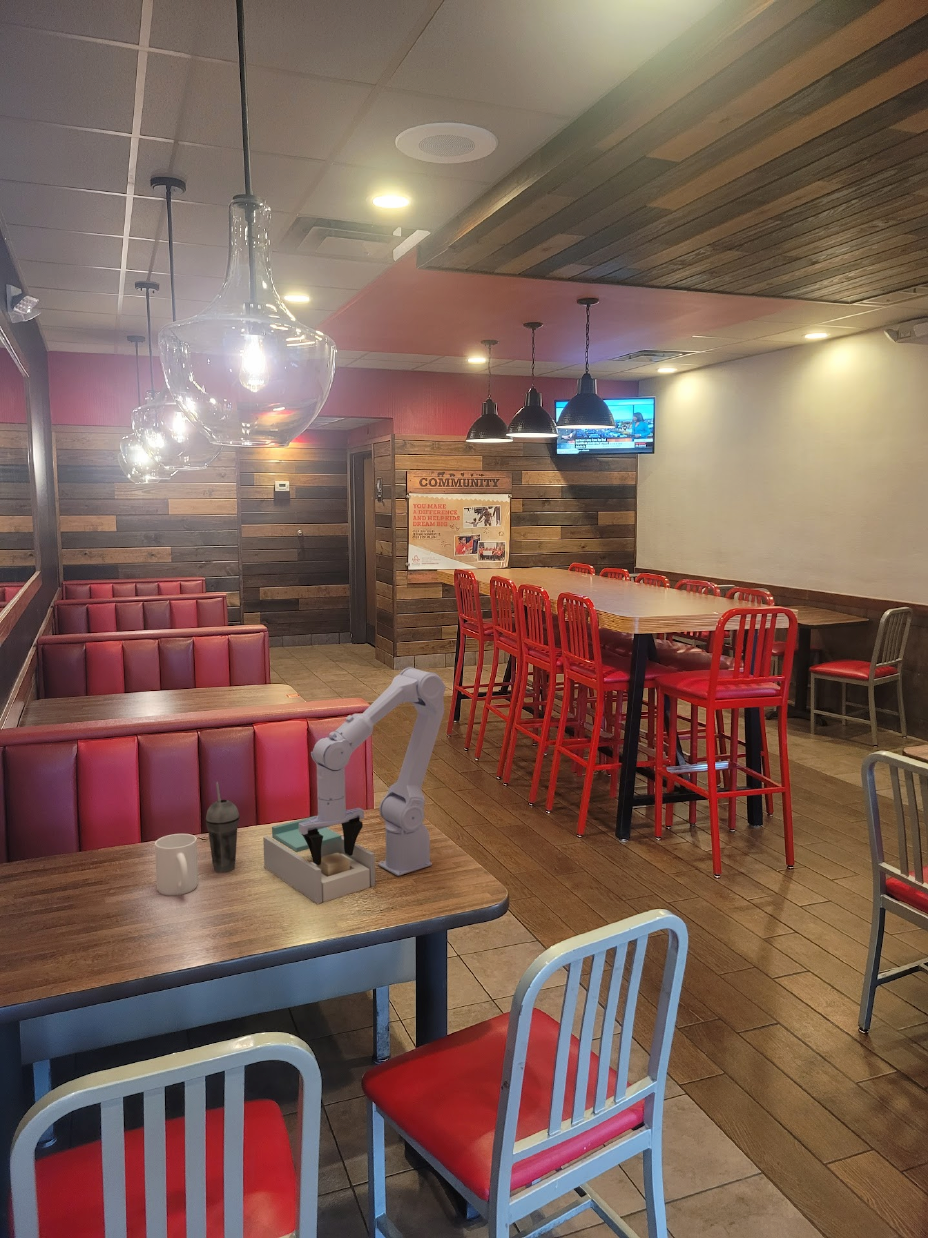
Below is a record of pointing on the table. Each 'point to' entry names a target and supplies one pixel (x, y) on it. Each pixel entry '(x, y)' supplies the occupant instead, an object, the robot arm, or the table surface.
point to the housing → (309, 875)
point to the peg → (334, 864)
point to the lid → (300, 835)
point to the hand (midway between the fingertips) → (333, 859)
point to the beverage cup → (222, 833)
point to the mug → (176, 864)
